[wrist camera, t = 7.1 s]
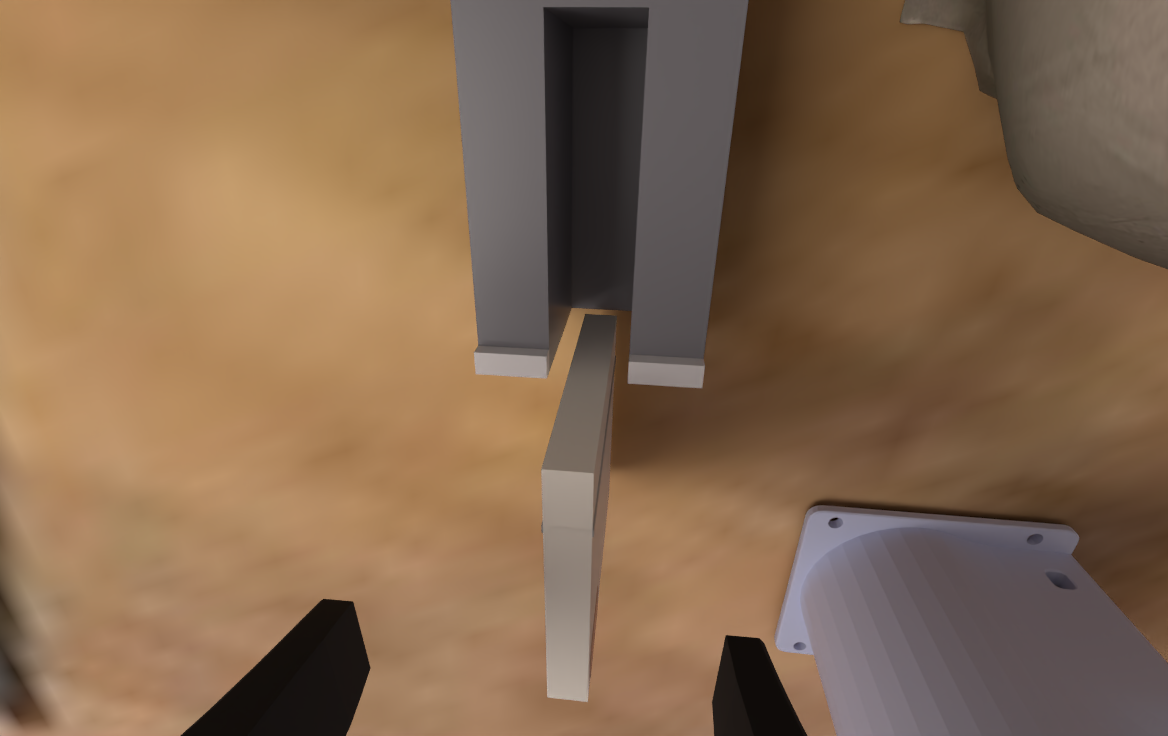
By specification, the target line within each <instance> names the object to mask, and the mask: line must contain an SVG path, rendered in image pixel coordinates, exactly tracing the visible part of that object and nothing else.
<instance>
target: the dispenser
mask: <svg viewBox="0 0 1168 736" xmlns="http://www.w3.org/2000/svg"><path fill="white" fill-rule="evenodd" d="M747 8H748V0H451V11H452V23H453V35H454V48H455V60H456V73H457V85H458V97H459V110H460V122H461V135H462V147H463V160H464V172H465V184H466V197H467V209H468V222H469V234H470V246H471V259H472V271H473V284H474V296H475V308H476V321H477V333H478V347H477V349H476V350H475V352H474V358H475V370H476V374H484V375H500V376H516V377H531V378H547V377H548V374H549V371H550V368H551V365H552V362H553V360H554V357H555V354H556V351H557V348H558V345H559V342H560V340H561V337H562V334H563V331H564V328H565V325H566V323H567V320H568V317H569V314H570V311H571V308H586V309H605V310H625V311H632V318H631V336H630V353H629V368H628V384H642V385H658V386H674V387H689V388H702V385H703V378H704V370H705V364H704V351H705V343H706V335H707V327H708V319H709V311H710V303H711V295H712V287H713V279H714V271H715V263H716V255H717V247H718V239H719V231H720V223H721V215H722V207H723V199H724V191H725V183H726V175H727V167H728V159H729V151H730V144H731V136H732V128H733V120H734V112H735V104H736V96H737V88H738V80H739V72H740V64H741V56H742V48H743V40H744V32H745V24H746V16H747Z"/></svg>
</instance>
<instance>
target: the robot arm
mask: <svg viewBox="0 0 1168 736" xmlns="http://www.w3.org/2000/svg"><path fill="white" fill-rule="evenodd" d="M832 518H838V519H837V520H835V521H829V520H830V519H832ZM1033 534H1034V535H1033ZM1031 535H1032V536H1031ZM1029 536H1030V537H1029ZM1078 541H1079V536H1078V534H1077V533H1076V532H1075V531H1074V530H1073V529H1072V528H1071V527H1070V526H1067V525H1062V524H1050V523H1038V522H1025V521H1013V520H1000V519H988V518H975V517H963V516H950V515H938V514H925V513H913V512H900V511H888V510H875V509H863V508H850V507H838V506H825V505H818V506H814V507H812V508H810V509H809V510H808V511H807V513H806V516H805V519H804V523H803V527H802V531H801V535H800V539H799V543H798V547H797V551H796V555H795V559H794V562H793V566H792V570H791V574H790V578H789V582H788V586H787V590H786V594H785V598H784V602H783V605H782V609H781V613H780V617H779V621H778V625H777V629H776V633H775V644H776V647H777V648H778V649H779V650H781V651H784V652H792V653H801V654H811V655H814V657H815V661H816V664H817V668H818V671H819V675H820V678H821V682H822V685H823V689H824V692H825V696H826V699H827V703H828V706H829V710H830V713H831V717H832V720H833V724H834V727H835V731H836V734H837V736H1168V663H1167V662H1166V660H1165V659H1164V658H1163V657H1162V656H1161V655H1160V654H1159V653H1158V651H1157V650H1156V649H1155V648H1154V647H1153V646H1152V645H1151V644H1150V642H1149V641H1148V640H1147V639H1146V638H1145V637H1144V636H1143V635H1142V634H1141V632H1140V631H1139V630H1138V629H1137V628H1136V627H1135V626H1134V625H1133V623H1132V622H1131V621H1130V620H1129V619H1128V618H1127V617H1126V616H1125V614H1124V613H1123V612H1122V611H1121V610H1120V609H1119V608H1118V607H1117V606H1116V604H1115V603H1114V602H1113V601H1112V600H1111V599H1110V598H1109V597H1108V595H1107V594H1106V593H1105V592H1104V591H1103V590H1102V589H1101V588H1100V586H1099V585H1098V584H1097V583H1096V582H1095V581H1094V580H1093V579H1092V577H1091V576H1090V575H1089V574H1088V573H1087V572H1086V571H1085V570H1084V569H1083V567H1082V566H1081V565H1080V564H1079V563H1078V562H1077V561H1076V560H1075V558H1074V557H1073V556H1072V555H1071V554H1072V552H1073V551H1074V549H1075V547H1076V545H1077V543H1078ZM369 671H370V665H369V661H368V657H367V653H366V649H365V645H364V641H363V638H362V634H361V630H360V626H359V622H358V618H357V615H356V611H355V607H354V603H353V602H352V601H341V600H330V599H323V600H322V601H320V602H319V603H318V604H317V605H316V606H315V607H314V608H313V609H312V610H311V611H310V612H309V613H308V614H307V615H306V616H305V617H304V618H303V619H302V620H301V621H300V622H299V623H298V624H297V625H296V626H295V627H294V628H293V629H292V630H291V631H290V632H289V633H288V634H287V635H286V636H285V637H284V638H283V639H282V640H281V641H280V642H279V643H278V644H277V645H276V646H275V647H274V648H273V649H272V650H271V651H270V652H269V653H268V654H267V655H266V656H265V657H264V658H263V659H262V660H261V661H260V662H259V663H258V664H257V665H256V666H255V667H254V668H253V669H252V670H250V671H249V672H248V673H247V674H246V675H245V676H244V677H243V678H242V679H241V680H240V681H239V682H238V683H237V684H236V685H235V686H234V687H233V688H232V689H231V690H230V691H228V692H227V693H226V694H225V695H224V696H223V697H222V698H221V699H220V700H219V701H218V702H217V703H216V704H215V705H214V706H213V707H212V708H211V709H210V710H208V711H207V712H206V713H205V714H204V715H203V716H202V717H201V718H200V719H199V720H197V721H196V722H195V723H194V724H193V725H192V726H191V727H190V728H189V729H187V730H186V731H185V732H184V733H183V734H182V735H181V736H346V734H347V732H348V730H349V727H350V725H351V722H352V720H353V717H354V714H355V711H356V709H357V706H358V703H359V700H360V697H361V694H362V692H363V689H364V686H365V683H366V680H367V677H368V674H369ZM712 706H713V722H714V736H807V734H806V732H805V730H804V728H803V726H802V724H801V723H800V721H799V718H798V716H797V714H796V712H795V710H794V708H793V706H792V704H791V702H790V700H789V698H788V696H787V694H786V692H785V690H784V688H783V685H782V683H781V681H780V679H779V677H778V675H777V672H776V670H775V668H774V665H773V663H772V661H771V659H770V656H769V654H768V651H767V649H766V647H765V644H764V643H763V642H762V641H761V640H760V639H759V638H751V637H740V636H728V635H726V637H725V642H724V647H723V652H722V656H721V661H720V666H719V671H718V676H717V681H716V686H715V691H714V696H713V701H712Z"/></svg>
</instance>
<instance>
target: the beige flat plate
mask: <svg viewBox="0 0 1168 736" xmlns="http://www.w3.org/2000/svg"><path fill="white" fill-rule="evenodd" d="M616 324H617V316H612V315H593V314H585V317H584V321H583V324H582V328H581V331H580V335H579V338H578V342H577V345H576V349H575V352H574V356H573V360H572V363H571V367H570V370H569V374H568V377H567V381H566V384H565V388H564V391H563V395H562V398H561V402H560V405H559V409H558V413H557V416H556V420H555V423H554V427H553V430H552V434H551V437H550V441H549V444H548V448H547V451H546V455H545V458H544V462H543V466H542V469H541V471H542V509H543V521H542V525H541V527H542V533H543V547H544V585H545V623H546V661H547V697H550V698H558V699H567V700H576V701H585V702H588V694H589V684H590V677H591V669H592V659H593V649H594V639H595V629H596V619H597V607H598V596H599V586H600V576H601V566H602V556H603V547H604V537H605V527H606V517H607V507H608V498H609V484H610V461H611V438H612V416H613V393H614V372H615V364H616V356H615V347H616Z"/></svg>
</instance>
